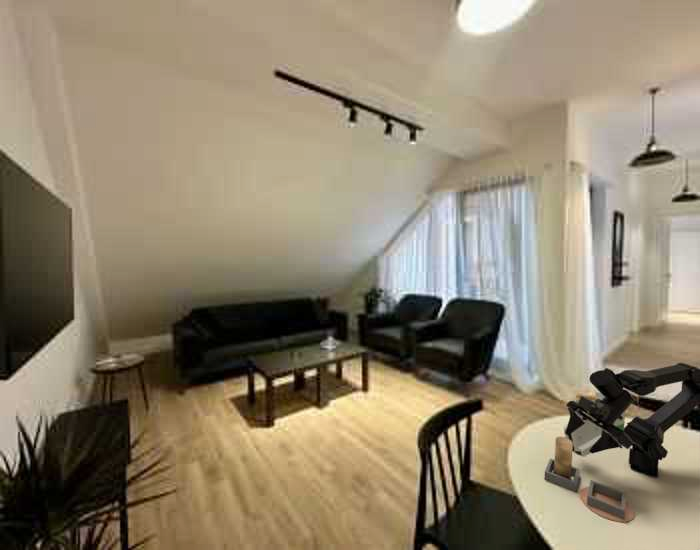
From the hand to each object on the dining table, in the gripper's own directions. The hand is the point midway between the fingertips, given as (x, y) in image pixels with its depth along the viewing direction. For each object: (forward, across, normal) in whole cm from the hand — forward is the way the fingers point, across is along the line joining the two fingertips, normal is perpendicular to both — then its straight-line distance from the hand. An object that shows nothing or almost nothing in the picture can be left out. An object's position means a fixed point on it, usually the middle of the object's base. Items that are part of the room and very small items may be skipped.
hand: (577, 442), depth 102 cm
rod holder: (+11, 0, +5) cm, 12 cm away
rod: (+11, 0, +5) cm, 12 cm away
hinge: (-3, -14, +19) cm, 24 cm away
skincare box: (-14, -19, +29) cm, 38 cm away
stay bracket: (+8, +11, +8) cm, 15 cm away
